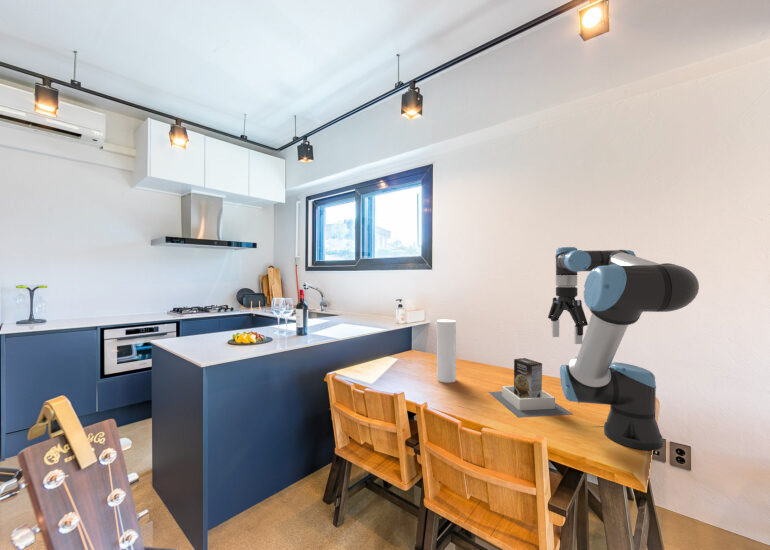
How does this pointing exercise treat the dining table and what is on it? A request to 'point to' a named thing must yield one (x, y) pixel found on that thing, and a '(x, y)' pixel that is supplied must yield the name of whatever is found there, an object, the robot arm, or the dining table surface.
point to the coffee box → (527, 378)
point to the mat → (530, 413)
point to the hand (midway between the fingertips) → (566, 340)
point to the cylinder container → (446, 350)
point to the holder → (528, 400)
